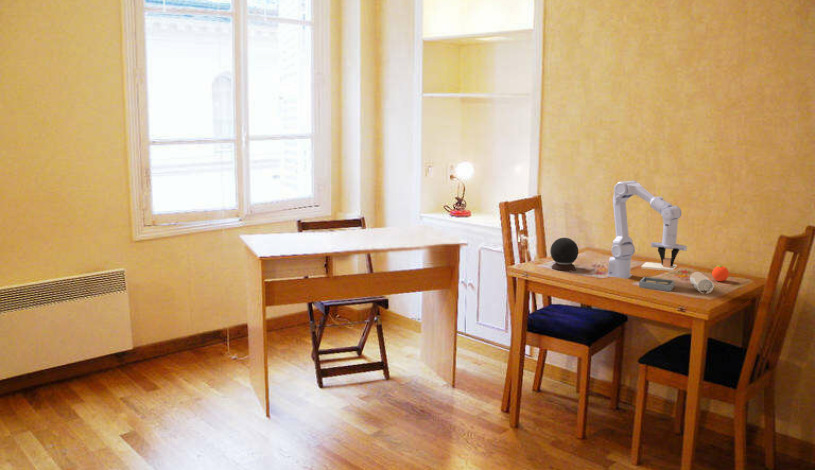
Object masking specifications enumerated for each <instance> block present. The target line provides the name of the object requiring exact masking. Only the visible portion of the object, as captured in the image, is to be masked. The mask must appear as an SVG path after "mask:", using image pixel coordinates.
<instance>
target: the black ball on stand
mask: <svg viewBox="0 0 815 470" xmlns="http://www.w3.org/2000/svg"><path fill="white" fill-rule="evenodd" d="M549 253H550V256H551V259H552V260H553V261H554V263H553V264H552V265H551V269H552V270H553V271H554V270H555V271H558V272H572V271H573V272H574V271H575V270H576V269H577V267H576V266H575V264H573V263H574V262H575V261H576V260H577V259H578V257H579V247H578V245H577V243H576V241H574V240H573V239H572V238H569V237H559V238H557V239H556V240H554V241H553V242H552V244H551V246H550V250H549Z"/></svg>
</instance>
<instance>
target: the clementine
mask: <svg viewBox="0 0 815 470" xmlns="http://www.w3.org/2000/svg"><path fill="white" fill-rule="evenodd" d="M712 269H713V270H712V273H711V275H712V278H713V279H714V280H716V281H717V282H724V281H726V280H727V279H728V278H729V275H730V273H729V270H728V268H726V266H723V265H715V266H714V267H713V268H712Z"/></svg>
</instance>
